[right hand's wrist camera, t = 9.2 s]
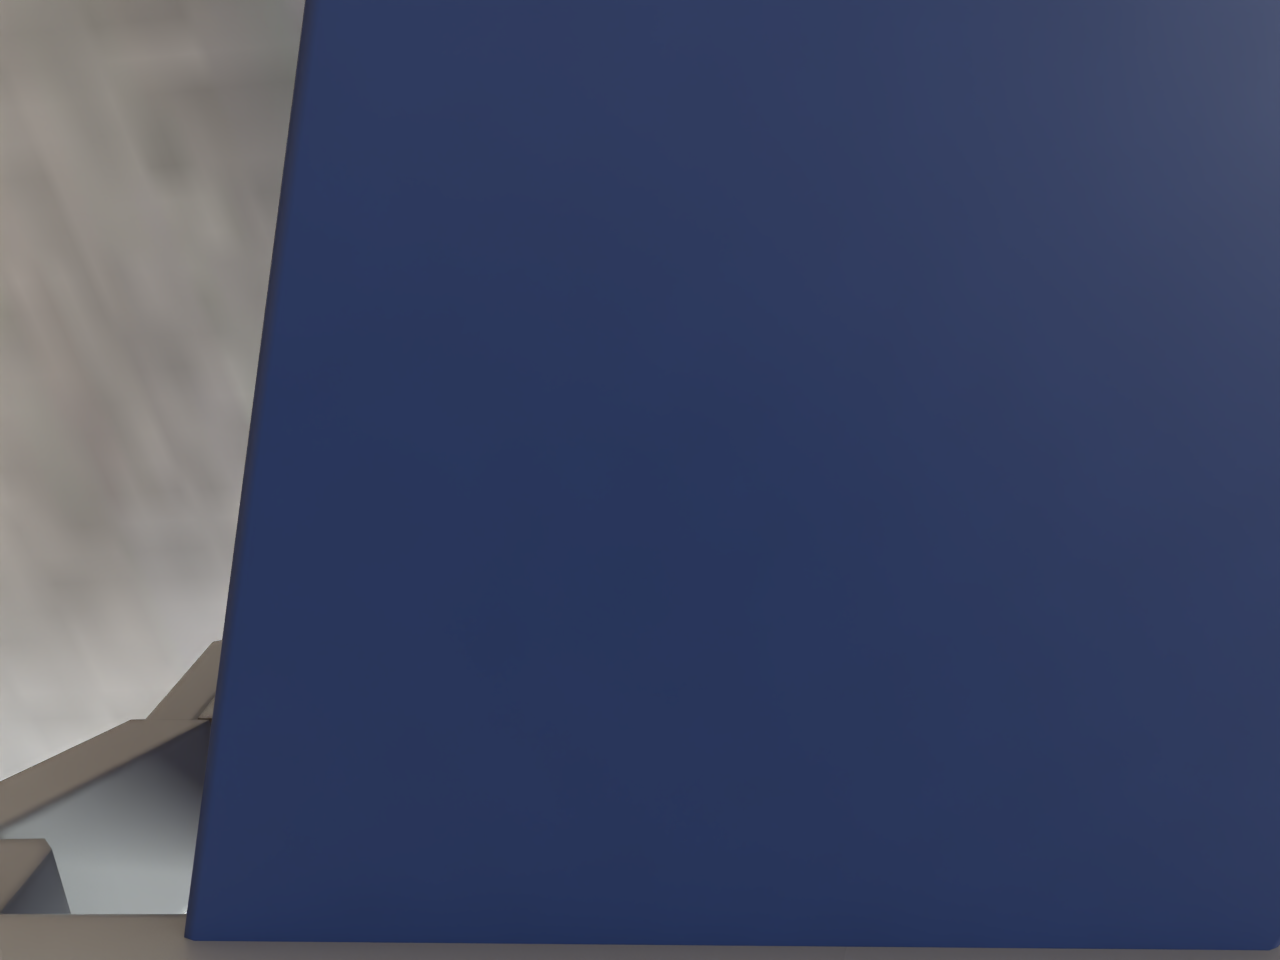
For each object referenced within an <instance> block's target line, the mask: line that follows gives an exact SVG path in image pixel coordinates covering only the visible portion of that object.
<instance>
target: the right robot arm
mask: <svg viewBox="0 0 1280 960" xmlns="http://www.w3.org/2000/svg"><path fill="white" fill-rule="evenodd" d="M221 646H222V640H220V641H215V642H213V643H212V644H211V645H210V646H209V647H208V648H207V649H206V650H205V651H204V653H203V654H202V655H201V656H200V657H199V658H198V660H197V661H196V662H195V663H194V664H193V665H192V666H191V668H190V669H189V670H188V671H187V672H186V673H185V675H184V676H183V677H182V678H181V679H180V680H179V681H178V683H177V684H176V685H175V686H174V687H173V688H172V689H171V691H170V692H169V693H168V694H167V695H166V696H165V698H164V699H163V700H162V701H161V702H160V703H159V704H158V706H157V707H156V708H155V709H154V710H153V711H152V713H151V714H150V715H149V716H148V717H147V718H146V719H141V720H129V721H127V722H125V723H123V724H121V725H119V726H117V727H115V728H113V729H110V730H108V731H106V732H104V733H102V734H100V735H98V736H96V737H94V738H91V739H89V740H87V741H85V742H83V743H81V744H79V745H77V746H75V747H72V748H70V749H68V750H66V751H64V752H62V753H60V754H58V755H56V756H53V757H51V758H49V759H47V760H45V761H43V762H41V763H39V764H37V765H34V766H32V767H30V768H28V769H26V770H24V771H22V772H20V773H18V774H15V775H13V776H11V777H9V778H7V779H5V780H3V781H1V782H0V960H1280V945H1279V946H1278V947H1277V948H1274V949H1271V950H1166V949H1053V948H940V947H827V946H714V945H602V944H490V943H378V942H266V941H193V940H190V939H187V938H185V937H184V932H185V923H186V915H187V914H184V913H185V912H186V911H187V908H188V900H189V892H190V885H191V877H192V869H193V862H194V854H195V846H196V839H197V831H198V823H199V815H200V808H201V800H202V792H203V785H204V777H205V769H206V762H207V754H208V746H209V738H210V731H211V723H212V715H213V708H214V700H215V692H216V685H217V677H218V669H219V661H220V654H221Z"/></svg>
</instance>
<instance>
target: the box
mask: <svg viewBox="0 0 1280 960" xmlns="http://www.w3.org/2000/svg"><path fill="white" fill-rule="evenodd" d="M184 937H185V938H187V939H190V940H193V941H266V942H378V943H490V944H602V945H714V946H827V947H940V948H1053V949H1166V950H1271V949H1274V948H1277V947H1278V946H1279V945H1280V0H305V7H304V15H303V23H302V30H301V38H300V46H299V53H298V61H297V69H296V77H295V84H294V92H293V100H292V107H291V115H290V123H289V130H288V138H287V146H286V153H285V161H284V169H283V177H282V184H281V192H280V200H279V207H278V215H277V223H276V230H275V238H274V246H273V254H272V261H271V269H270V277H269V284H268V292H267V300H266V307H265V315H264V323H263V331H262V338H261V346H260V354H259V361H258V369H257V377H256V384H255V392H254V400H253V407H252V415H251V423H250V431H249V438H248V446H247V454H246V461H245V469H244V477H243V484H242V492H241V500H240V508H239V515H238V523H237V531H236V538H235V546H234V554H233V561H232V569H231V577H230V585H229V592H228V600H227V608H226V615H225V623H224V631H223V638H222V646H221V654H220V661H219V669H218V677H217V685H216V692H215V700H214V708H213V715H212V723H211V731H210V738H209V746H208V754H207V762H206V769H205V777H204V785H203V792H202V800H201V808H200V815H199V823H198V831H197V839H196V846H195V854H194V862H193V869H192V877H191V885H190V892H189V900H188V908H187V915H186V923H185V932H184Z"/></svg>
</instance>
